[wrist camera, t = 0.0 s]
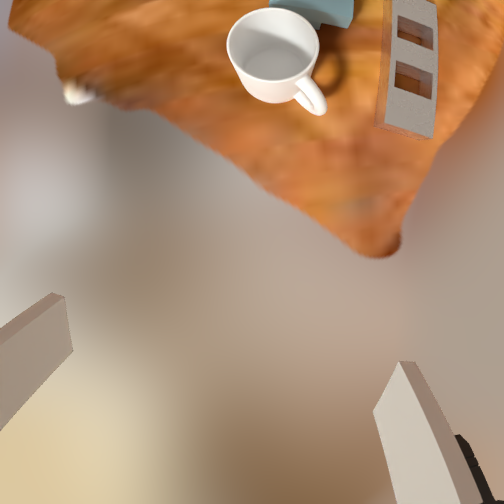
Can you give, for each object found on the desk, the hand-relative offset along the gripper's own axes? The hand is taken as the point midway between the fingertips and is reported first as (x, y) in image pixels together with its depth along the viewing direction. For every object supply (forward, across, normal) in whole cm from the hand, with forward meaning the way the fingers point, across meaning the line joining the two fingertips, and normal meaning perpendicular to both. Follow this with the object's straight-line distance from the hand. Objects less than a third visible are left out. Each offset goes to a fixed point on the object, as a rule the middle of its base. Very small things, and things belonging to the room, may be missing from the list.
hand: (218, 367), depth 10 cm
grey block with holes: (+28, +15, +24) cm, 40 cm away
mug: (+28, 0, +17) cm, 33 cm away
